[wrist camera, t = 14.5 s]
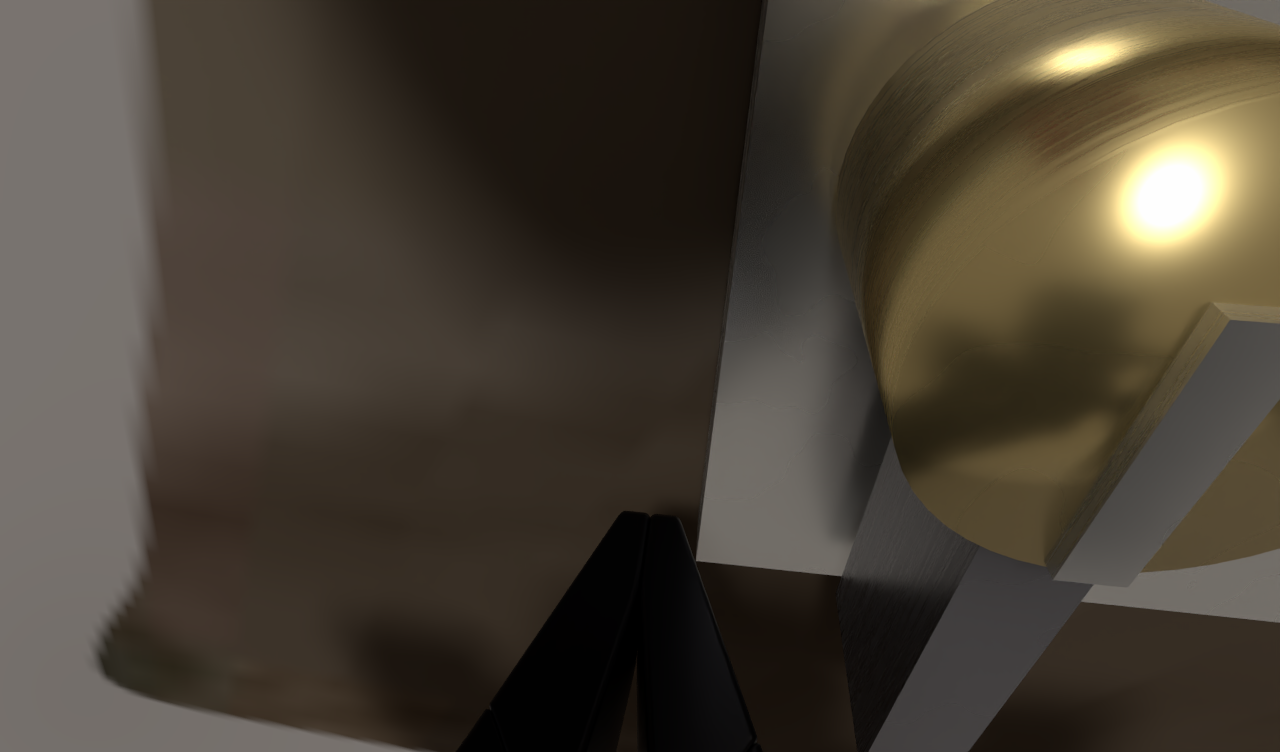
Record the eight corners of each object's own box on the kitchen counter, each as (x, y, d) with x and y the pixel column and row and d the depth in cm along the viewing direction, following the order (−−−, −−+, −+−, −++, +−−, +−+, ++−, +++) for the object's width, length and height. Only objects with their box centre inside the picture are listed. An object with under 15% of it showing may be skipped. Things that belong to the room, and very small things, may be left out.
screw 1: (884, -34, 6) (1017, 69, 3) (1346, -13, 6) (1925, 122, 3) (752, 570, 12) (760, 803, 9) (985, 594, 12) (1070, 842, 9)
